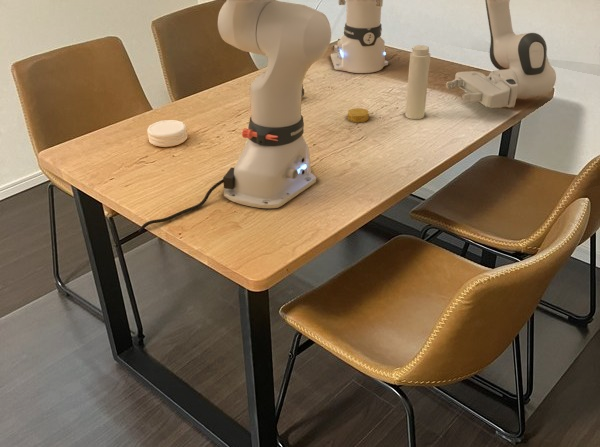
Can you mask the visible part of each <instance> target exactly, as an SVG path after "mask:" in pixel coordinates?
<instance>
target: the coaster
mask: <svg viewBox="0 0 600 447" xmlns="http://www.w3.org/2000/svg"><path fill="white" fill-rule="evenodd" d="M146 132H147V138H148V142H149V143H150V144H151V145H153V146H156V147H160V148H162V147H163V148H168V147H169V148H170V147H175V146H179V145H182V144H183V143H184V142H185V141H186V140H187V139H188V130H187V125H186V124H185V123H184V122H183V121H180V120H176V119H165V120H160V121H156V122H153V123H151V124H150V125H149V126H148V127H147V130H146Z"/></svg>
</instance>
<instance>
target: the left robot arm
mask: <svg viewBox="0 0 600 447" xmlns="http://www.w3.org/2000/svg"><path fill="white" fill-rule="evenodd" d="M376 3H377V4H376V7H381V8H382V7H383V5H384V0H376ZM338 5H339V6H345V5H347V3H346V0H338ZM217 30H218V34H219V36H220V38H221V39H222V40H223V42H224V43H226V44H228V45H230V46H231V47H233V48H235V49H238V50H239V51H242V52H245V53H250V54H256V55H260V56H266V58H267V67H266V71H263V72H261V73H260V74H258V75H257V76H256V77H255V78H254V79H253V80H252V82H251V83H250V86H249V101H250V102H249V103H250V117H249V123H248V126H247V128H245V127H244V128H243V129H242V131H241V137H242V138H244V139H247V140H246V142H245V144H244V146H243V148H242V151H241V153H240V154H239V157H238V159H237V161H236V163H235V166H234V167H230V168H229V170H227V172H226V173H225V174H224V175H223V177H222V179H221V180H218V181H217V182H216V183H215V184H213V185H212V186H211V187H210V188H209V189H208V190H207V192H206V194H205V196H204V197H203V198H202V200H201V201H200V202H199V203H197V204H196V205H194V206H192V207H188V208H185V209H183V210H181V211H178V212H176V213H174V214H171V215H169V216H166V217H163V218H159V219H151V220H149V221H146V222H145V223H143V224H142V225H141V226H140V228H139V229H138V233H142V232H143V231H144V230H145V229H146V228H147V227H148V226H150V225H152V224H153V225H154V224H160V223H165V222H168V221H170V220H173V219H175V218H177V217H180V216H182V215H184V214H186V213H189V212H191V211H194V210H197V209H199V208H201V207H202V206H203V205H204V204H205V203H207V200H208V199H209V197H210V195H211V193H212V192H213V191H215V189H217V188H218V187H219V186H220V185H222V184H223V189H224V190H223V196H224V198H225V199H228V200H229V201H231V202H233V203H237V204H239V205H244V206H248V207H252V208H258V209H278V208H280V207H283V205H285V204H286V203H288V202H289V201H292V199H294V198H295V197H296V196H298V195H299V194H301V193H303V192H304V191H305V190H307V189H308V188H309V187H311V186H313V185H314V184H316V182H317V176H316V175H315V174H314V173H312V167H311V154H310V147H309V145H308V144H307V142H306V140H305V138H304V133H305V132H304V131H305V130H304V127H305V121H304V116H303V115H302V98H303V97H302V85H303V86H304V80H305V77H306V75H307V72H308V71H309V69H310V68H311V66H312V65H313V64H314V63H316V62H317V61H319V60H321V58H322V57H323V56H324V55H325V54H326V53H327V51H328V49H329V47H330V44H331V40H332V28H331V23H330V21H329V19H328V17H327V15H326V14H325V13H324V12H321V11H320V10H317V9H315V8H312V7H310V6H307V5H305V4H301V3H293V2H288V1H287V2H286V1H280V0H226V1H224V3H223V4H222V6H221V8H220V10H219V12H218V16H217ZM301 97H302V98H301Z"/></svg>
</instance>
